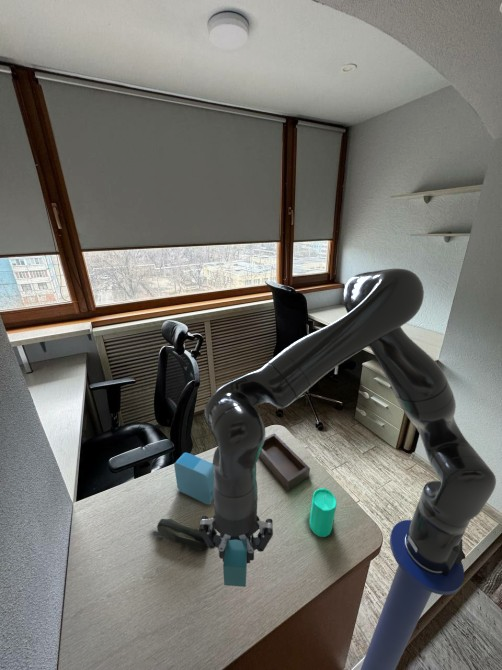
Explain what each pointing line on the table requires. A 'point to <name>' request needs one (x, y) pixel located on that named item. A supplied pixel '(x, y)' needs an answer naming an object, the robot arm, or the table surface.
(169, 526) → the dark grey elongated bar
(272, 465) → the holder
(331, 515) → the candle
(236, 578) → the block
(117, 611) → the table surface
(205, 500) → the data package
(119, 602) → the table surface
